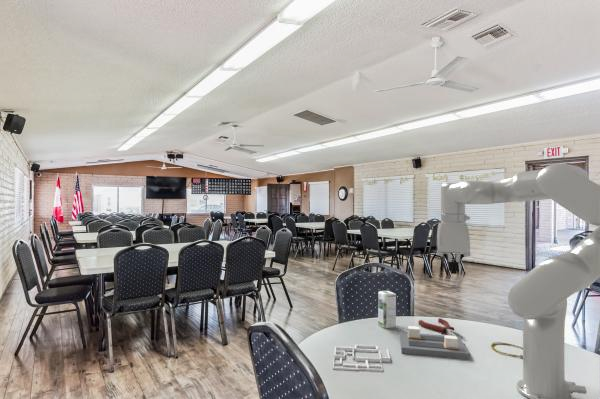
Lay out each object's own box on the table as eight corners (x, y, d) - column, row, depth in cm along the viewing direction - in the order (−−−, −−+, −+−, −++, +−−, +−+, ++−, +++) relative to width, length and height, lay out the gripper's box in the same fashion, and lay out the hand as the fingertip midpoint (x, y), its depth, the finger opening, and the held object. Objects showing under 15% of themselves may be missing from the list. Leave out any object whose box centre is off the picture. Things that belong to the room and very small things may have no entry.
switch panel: (459, 342, 136) (459, 335, 136) (469, 359, 121) (469, 352, 121) (399, 336, 142) (399, 331, 142) (401, 353, 126) (401, 346, 126)
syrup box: (377, 324, 156) (377, 291, 157) (389, 323, 158) (389, 290, 158) (384, 328, 151) (384, 294, 151) (396, 327, 153) (396, 293, 153)
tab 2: (456, 344, 127) (456, 336, 128) (457, 347, 125) (457, 339, 125) (444, 343, 128) (444, 335, 128) (445, 346, 125) (445, 338, 126)
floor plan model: (384, 343, 136) (384, 338, 136) (393, 374, 111) (393, 368, 112) (334, 341, 139) (334, 336, 139) (333, 371, 114) (333, 364, 114)
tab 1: (418, 334, 137) (418, 326, 137) (419, 337, 134) (419, 329, 134) (408, 333, 138) (408, 326, 138) (408, 336, 135) (408, 328, 135)
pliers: (448, 343, 136) (447, 336, 136) (416, 325, 157) (416, 319, 157) (474, 340, 139) (474, 333, 139) (440, 323, 160) (440, 317, 160)
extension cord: (515, 364, 118) (515, 358, 118) (483, 346, 134) (483, 340, 134) (548, 362, 120) (547, 356, 120) (512, 344, 136) (512, 338, 136)
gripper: (474, 218, 124) (474, 272, 123) (428, 218, 127) (428, 270, 127) (479, 219, 116) (480, 276, 116) (431, 219, 120) (431, 274, 120)
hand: (453, 273), depth 122 cm, fingers closed
